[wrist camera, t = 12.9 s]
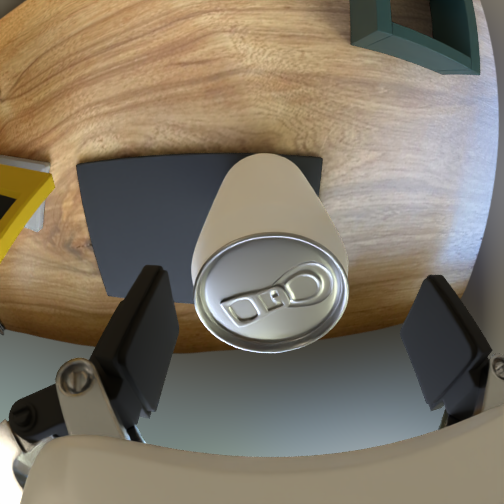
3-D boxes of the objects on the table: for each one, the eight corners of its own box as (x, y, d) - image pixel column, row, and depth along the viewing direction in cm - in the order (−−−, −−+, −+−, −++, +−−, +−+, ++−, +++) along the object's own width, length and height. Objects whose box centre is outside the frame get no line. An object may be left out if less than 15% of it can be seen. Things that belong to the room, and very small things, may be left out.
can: (320, 213, 20) (374, 327, 10) (246, 245, 22) (236, 372, 12) (286, 136, 18) (328, 184, 7) (205, 176, 19) (145, 269, 9)
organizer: (436, -4, 10) (469, -16, 5) (442, 74, 14) (480, 75, 10) (346, -38, 10) (366, -64, 5) (350, 45, 14) (377, 30, 10)
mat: (321, 157, 19) (322, 158, 18) (301, 304, 26) (301, 307, 25) (78, 163, 19) (75, 165, 18) (109, 293, 26) (107, 296, 25)
